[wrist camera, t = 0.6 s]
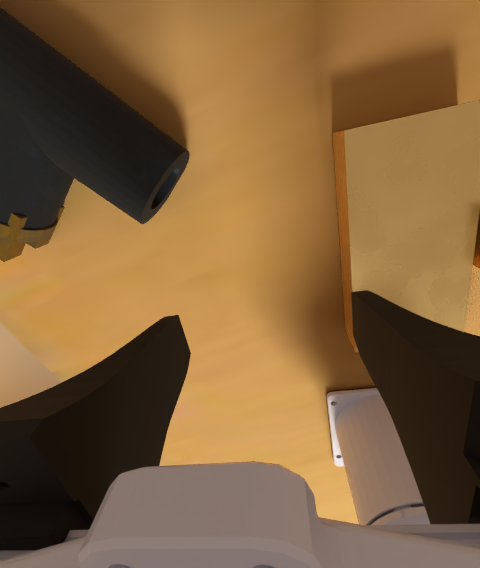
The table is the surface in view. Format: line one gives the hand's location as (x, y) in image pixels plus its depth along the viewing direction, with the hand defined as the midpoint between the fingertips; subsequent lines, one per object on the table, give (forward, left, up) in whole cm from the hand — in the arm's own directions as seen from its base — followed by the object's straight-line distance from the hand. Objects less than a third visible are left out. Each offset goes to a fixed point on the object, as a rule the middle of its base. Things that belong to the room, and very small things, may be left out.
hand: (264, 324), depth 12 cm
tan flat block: (0, -10, -9) cm, 13 cm away
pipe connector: (+9, +13, -10) cm, 18 cm away
